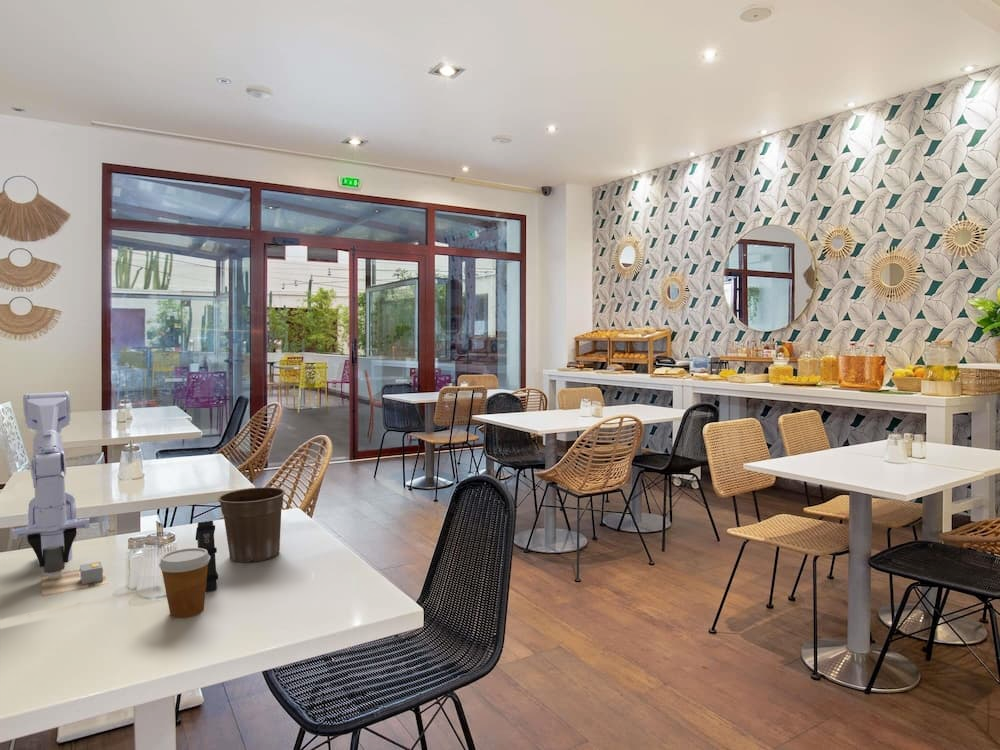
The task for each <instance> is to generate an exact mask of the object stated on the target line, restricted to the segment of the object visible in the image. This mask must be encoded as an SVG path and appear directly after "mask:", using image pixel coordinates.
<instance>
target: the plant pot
mask: <svg viewBox="0 0 1000 750" xmlns="http://www.w3.org/2000/svg"><path fill="white" fill-rule="evenodd" d="M285 494H286V490H285V489H283V488H279V487H267V486H266V487H253V488H251V487H250V488H244V489H243V488H242V489H237V490H233V491H229V492H227V493H223V494H221V495H219V496H218V498H217V501H218V502H219V505H220V509H221V514H222V515H223V520H224V526H225V534H226V540H227V546H228V553H229V559H230V560H231V561H233V562H235V561H236V562H235V563H249V562H250V561H255V562H260V561H266V560H269V559H271V557H272V558H273V557H276V556H277V555H278V554H279V553H280V549H281V528H282V527H281V525H282V523H281V521H282V509H283V506H284V495H285ZM265 559H266V560H265Z"/></svg>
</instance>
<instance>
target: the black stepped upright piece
mask: <svg viewBox="0 0 1000 750" xmlns="http://www.w3.org/2000/svg"><path fill="white" fill-rule="evenodd" d="M215 530H216V525H215V524H214V520H207V521H199V522H197V527H196V531H195V541H197V548H202V549H206V550H207V551H208V555H210V560H209V563H208V569H207V581H206V591H205V593H210V592H216V591H217V589H218V586H217V585H218V584H217V580H219V574H218V572H217V571H218V570H217V567H216V565H217V563H216V553H217V552H218V550H217V549H218V548H217V547H216V546H215V533H216V532H215Z"/></svg>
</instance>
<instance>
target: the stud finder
mask: <svg viewBox="0 0 1000 750" xmlns="http://www.w3.org/2000/svg"><path fill="white" fill-rule="evenodd" d="M102 568H103V565H102V563H101V561H96V562H91V563H90V562H89V563H86V564H80V565H79V569H80V571H79V576H80V575H81V582H82V584H87V583H92V582H98V581H103V571H104V569H103V570H102Z"/></svg>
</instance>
